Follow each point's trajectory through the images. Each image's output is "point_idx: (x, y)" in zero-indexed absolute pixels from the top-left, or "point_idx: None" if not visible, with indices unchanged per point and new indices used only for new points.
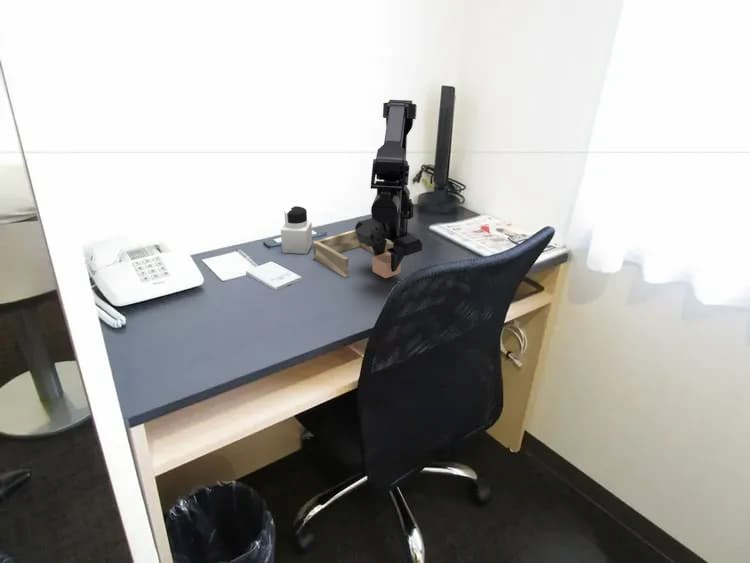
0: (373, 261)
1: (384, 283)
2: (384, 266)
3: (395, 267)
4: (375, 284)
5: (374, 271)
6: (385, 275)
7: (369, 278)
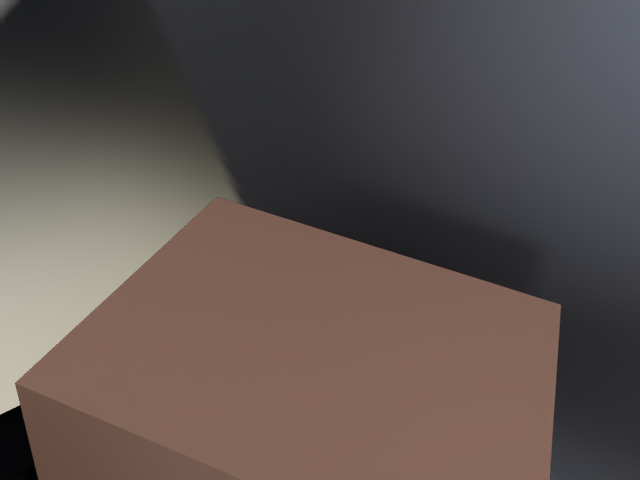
0: (509, 471)
1: (292, 171)
2: (113, 338)
3: None
4: (367, 64)
5: (494, 295)
6: (190, 224)
7: (582, 178)
